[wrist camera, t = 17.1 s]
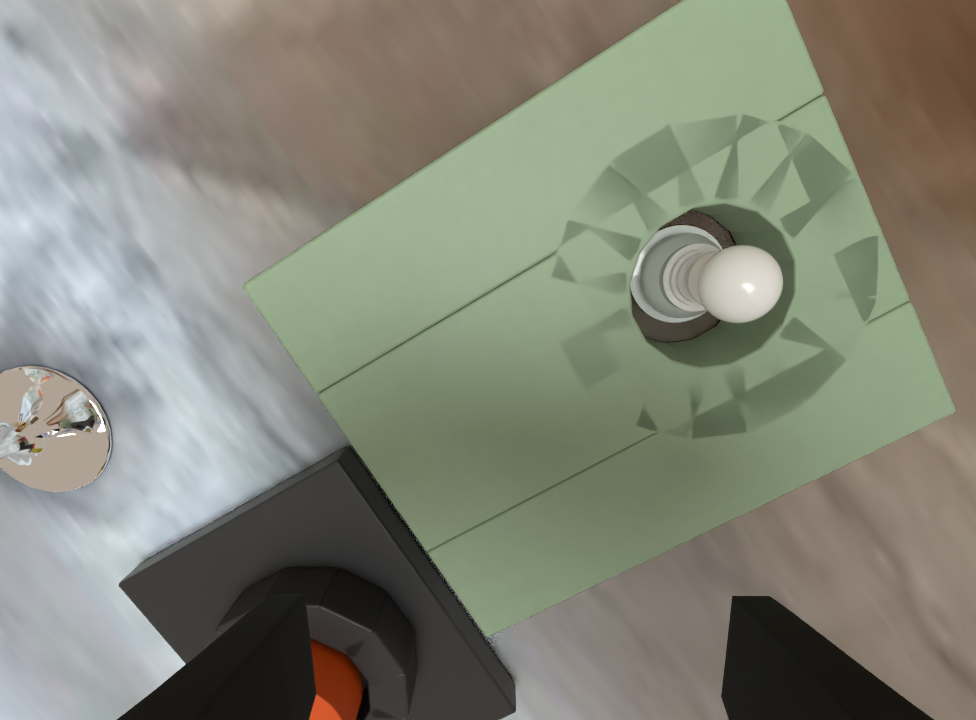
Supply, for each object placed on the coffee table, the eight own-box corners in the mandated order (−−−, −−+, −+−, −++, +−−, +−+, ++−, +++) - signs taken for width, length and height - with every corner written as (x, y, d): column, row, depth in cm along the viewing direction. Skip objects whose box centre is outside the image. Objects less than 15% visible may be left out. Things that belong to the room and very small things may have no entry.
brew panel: (516, 684, 19) (518, 764, 17) (318, 775, 21) (288, 864, 18) (348, 444, 17) (317, 487, 14) (140, 562, 19) (73, 624, 16)
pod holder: (877, 379, 16) (958, 412, 13) (488, 574, 18) (486, 639, 15) (711, 3, 14) (766, -55, 11) (287, 275, 16) (239, 285, 13)
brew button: (385, 702, 17) (372, 756, 15) (293, 746, 17) (271, 803, 15) (319, 618, 16) (298, 664, 14) (226, 666, 16) (194, 716, 15)
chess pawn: (607, 283, 16) (654, 307, 11) (672, 204, 15) (751, 193, 10) (678, 339, 16) (754, 387, 11) (744, 264, 16) (853, 281, 11)
